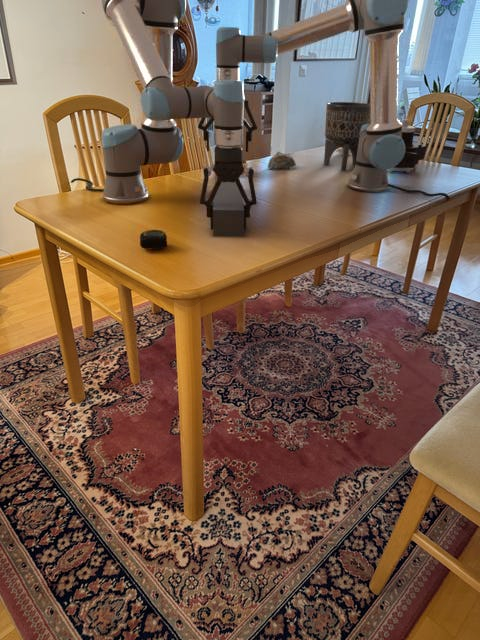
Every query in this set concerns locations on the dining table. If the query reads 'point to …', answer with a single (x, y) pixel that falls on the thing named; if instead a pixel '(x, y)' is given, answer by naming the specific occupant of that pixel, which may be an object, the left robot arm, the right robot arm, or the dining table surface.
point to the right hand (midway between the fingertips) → (227, 151)
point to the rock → (281, 162)
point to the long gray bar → (228, 210)
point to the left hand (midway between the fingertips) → (228, 228)
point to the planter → (344, 129)
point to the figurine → (341, 151)
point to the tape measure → (153, 239)
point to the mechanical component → (410, 150)
